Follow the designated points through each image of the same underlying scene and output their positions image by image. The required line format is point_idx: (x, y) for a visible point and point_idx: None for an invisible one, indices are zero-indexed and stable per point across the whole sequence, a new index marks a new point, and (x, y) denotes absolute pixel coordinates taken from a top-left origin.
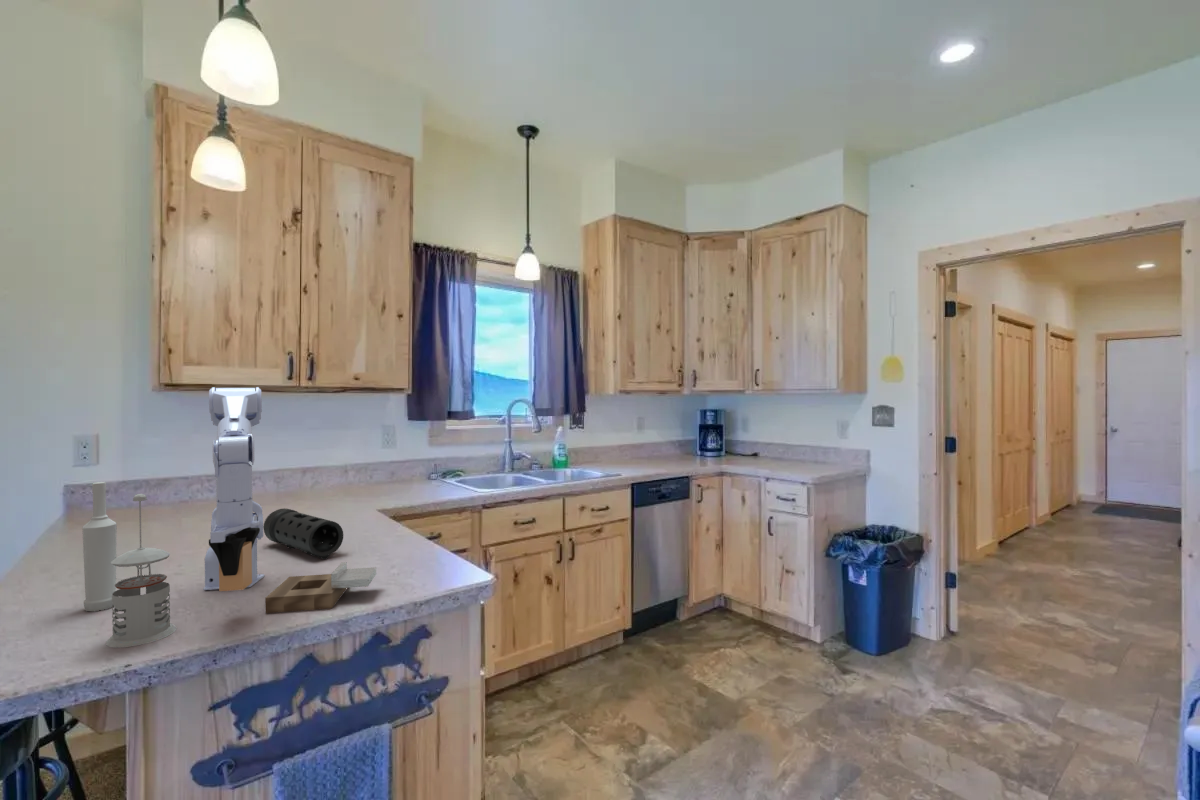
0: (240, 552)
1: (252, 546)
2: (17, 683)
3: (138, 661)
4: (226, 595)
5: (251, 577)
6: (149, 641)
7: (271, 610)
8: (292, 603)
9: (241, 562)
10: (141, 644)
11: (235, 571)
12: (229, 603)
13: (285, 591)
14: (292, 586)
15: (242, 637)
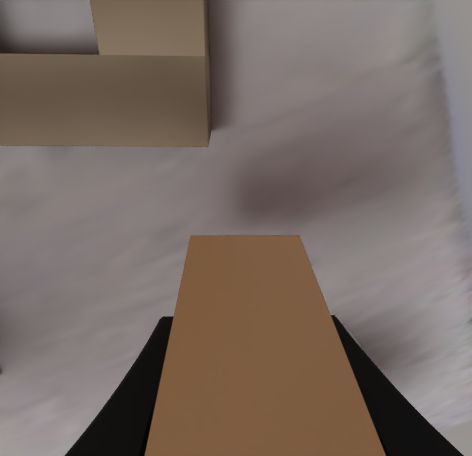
0: (396, 452)
1: (85, 440)
2: (457, 419)
3: (467, 310)
4: (29, 313)
5: (194, 252)
6: (352, 337)
7: (210, 109)
8: (206, 7)
9: (344, 356)
10: (360, 344)
11: (346, 331)
12: (99, 281)
13: (121, 76)
14: (39, 64)
15: (434, 125)
